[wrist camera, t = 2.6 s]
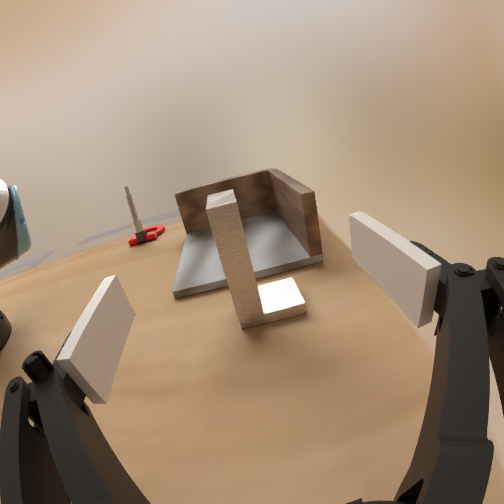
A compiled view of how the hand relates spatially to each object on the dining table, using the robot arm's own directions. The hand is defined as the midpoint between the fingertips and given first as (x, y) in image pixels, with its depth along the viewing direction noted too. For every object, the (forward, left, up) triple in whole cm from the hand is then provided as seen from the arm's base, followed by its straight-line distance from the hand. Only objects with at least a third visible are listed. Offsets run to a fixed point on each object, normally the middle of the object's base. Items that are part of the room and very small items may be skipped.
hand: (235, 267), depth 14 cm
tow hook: (-20, +46, -11) cm, 51 cm away
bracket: (+2, +10, -11) cm, 15 cm away
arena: (0, +27, -11) cm, 29 cm away
